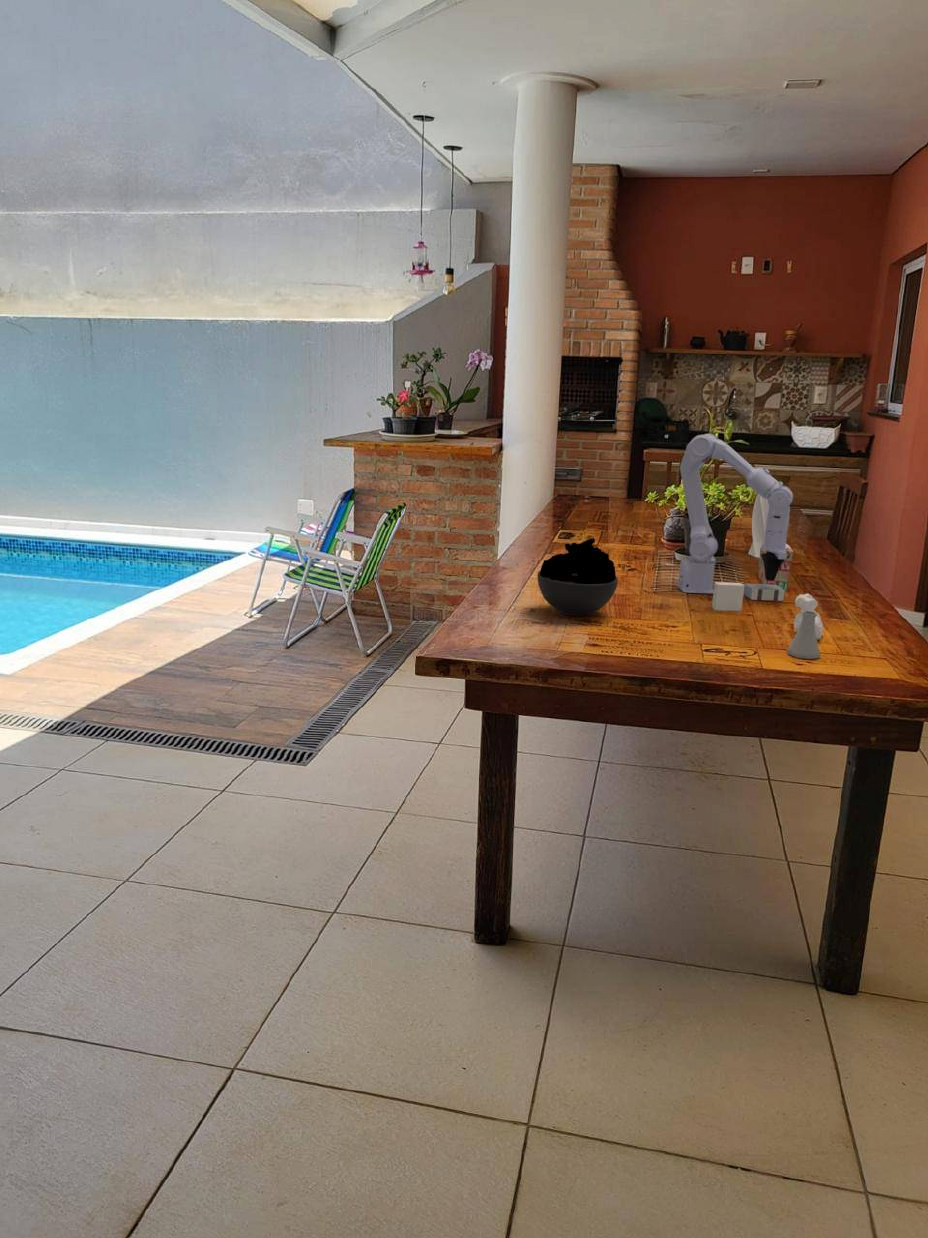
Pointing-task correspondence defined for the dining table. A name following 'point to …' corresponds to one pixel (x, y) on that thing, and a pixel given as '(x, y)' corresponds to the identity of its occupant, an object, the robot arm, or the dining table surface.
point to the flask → (805, 638)
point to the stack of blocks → (782, 573)
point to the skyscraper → (759, 525)
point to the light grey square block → (728, 596)
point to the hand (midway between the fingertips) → (769, 579)
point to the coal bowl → (578, 579)
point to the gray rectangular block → (764, 592)
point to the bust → (808, 605)
